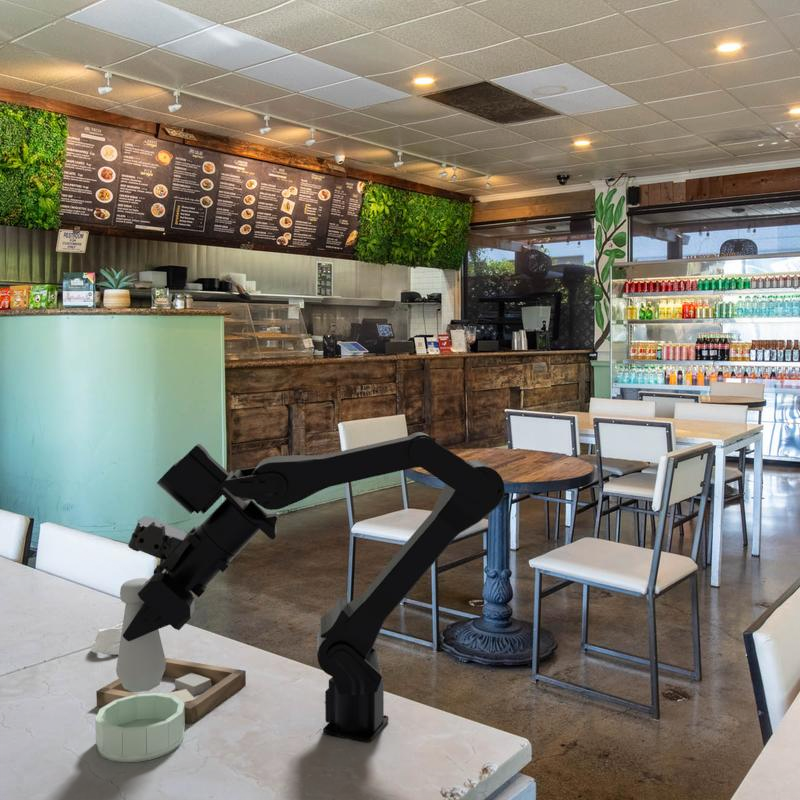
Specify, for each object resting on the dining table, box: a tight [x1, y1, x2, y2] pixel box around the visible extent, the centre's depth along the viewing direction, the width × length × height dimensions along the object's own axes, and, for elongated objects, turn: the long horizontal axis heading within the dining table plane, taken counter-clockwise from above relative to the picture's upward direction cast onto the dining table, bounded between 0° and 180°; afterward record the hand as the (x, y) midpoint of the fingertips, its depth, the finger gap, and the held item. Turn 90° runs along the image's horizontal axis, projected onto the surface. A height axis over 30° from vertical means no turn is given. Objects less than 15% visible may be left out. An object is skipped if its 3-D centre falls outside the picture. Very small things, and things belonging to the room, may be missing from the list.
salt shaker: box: [115, 577, 166, 693], centre depth 98 cm, size 6×6×13 cm
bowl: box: [94, 692, 186, 763], centre depth 97 cm, size 10×10×4 cm
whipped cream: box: [90, 620, 123, 656], centre depth 128 cm, size 8×7×5 cm
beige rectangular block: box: [165, 689, 196, 703], centre depth 107 cm, size 4×3×2 cm
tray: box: [96, 657, 247, 725], centre depth 111 cm, size 15×13×2 cm
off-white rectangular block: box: [174, 673, 212, 696], centre depth 113 cm, size 4×3×2 cm
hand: (128, 633), depth 97 cm, fingers closed on salt shaker, 3 cm apart
